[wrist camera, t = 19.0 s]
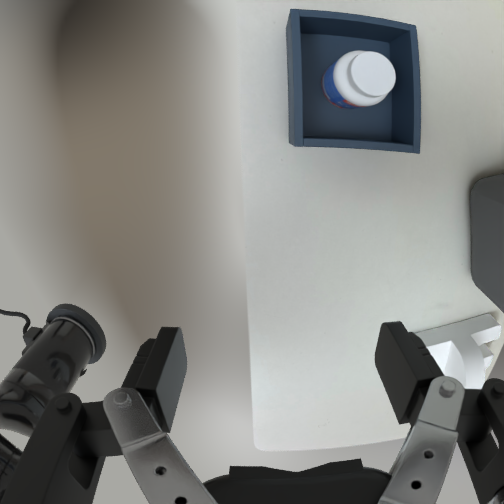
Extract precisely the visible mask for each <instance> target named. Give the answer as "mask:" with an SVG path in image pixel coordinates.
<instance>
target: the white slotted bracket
mask: <svg viewBox="0 0 504 504" xmlns="http://www.w3.org/2000/svg"><path fill="white" fill-rule="evenodd" d="M501 329H502V327H501V325H500V324H499V323H498V322H497V321H496V320H495V319H494V318H493V317H492V316H491V315H490V314H489V313H487V314H484V315H481V316H477V317H474V318H471V319H467V320H464V321H460V322H457V323H453V324H449V325H446V326H442V327H438V328H434V329H430V330H426V331H422V332H418V333H414V334H416V335H417V336H418V337H420V338H421V339H422V341H423V342H424V344H425V345H426V348H428V350H429V352H430V355H432V356H433V358H434V359H435V361H436V363H437V364H438V366H439V367H440V369H441V370H442V372H443V374H444V375H445V376H449V377H452V378H455V379H457V380H458V381H459V382H460V383H461V384H462V385H463V387H464V388H465V389H481V388H482V386H483V384H484V381H485V369H486V368H487V367H488V366H489V365H490V364H491V361H492V358H493V355H494V354H493V353H492V352H491V350H490V349H489V348H488V347H487V345H486V344H485V343H487V342H490V341H493V340H496V339H499V336H500V333H501Z"/></svg>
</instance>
